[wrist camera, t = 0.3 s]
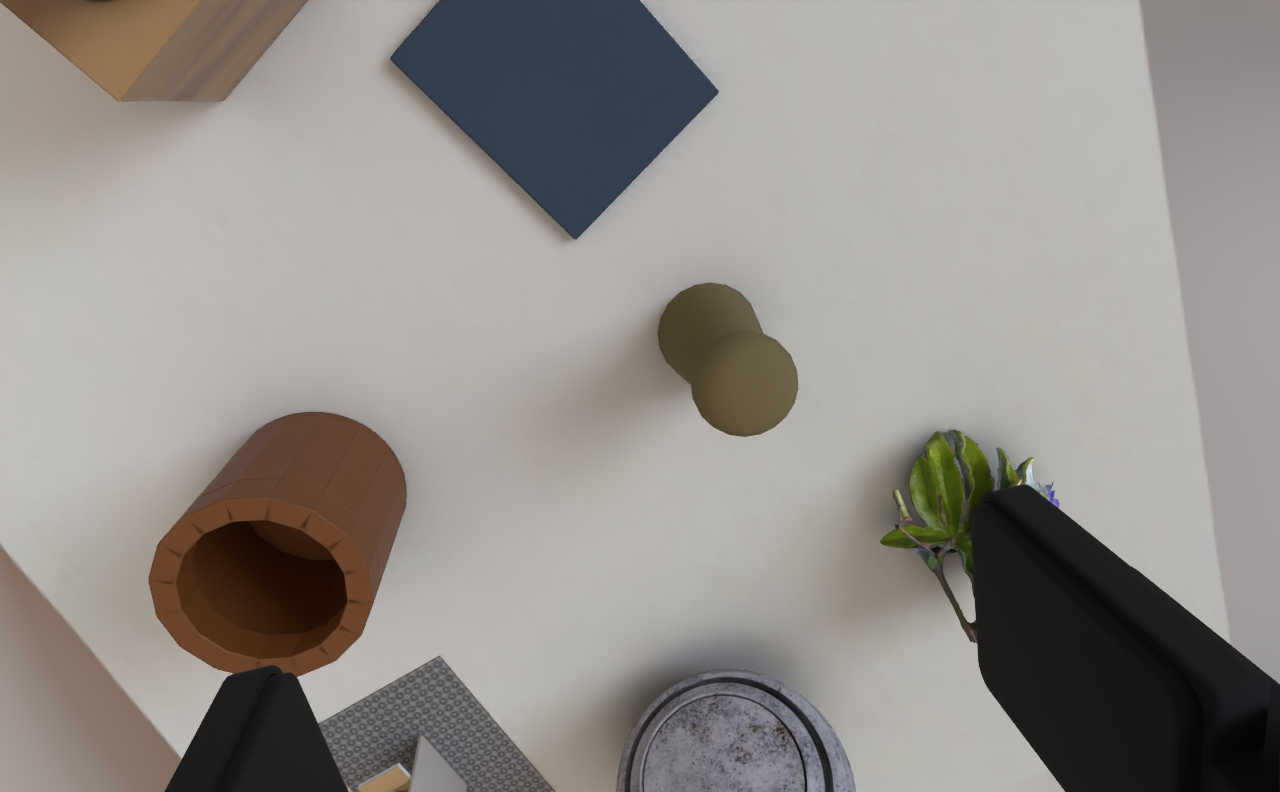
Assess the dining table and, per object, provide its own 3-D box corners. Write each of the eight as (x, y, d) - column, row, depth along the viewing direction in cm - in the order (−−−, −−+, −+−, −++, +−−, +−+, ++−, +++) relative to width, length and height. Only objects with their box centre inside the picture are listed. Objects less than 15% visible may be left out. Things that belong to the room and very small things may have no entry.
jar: (197, 494, 48) (104, 601, 38) (305, 377, 47) (239, 456, 36) (335, 589, 51) (284, 712, 41) (440, 484, 50) (414, 583, 39)
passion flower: (965, 472, 60) (1078, 616, 53) (837, 529, 58) (938, 686, 51) (1014, 382, 51) (1157, 543, 44) (863, 446, 49) (989, 625, 42)
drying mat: (391, 58, 41) (389, 58, 41) (539, -112, 40) (539, -115, 39) (575, 238, 46) (575, 240, 45) (717, 91, 44) (719, 91, 43)
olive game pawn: (673, 393, 49) (708, 471, 39) (645, 301, 47) (674, 357, 37) (768, 362, 49) (827, 432, 39) (744, 269, 47) (800, 316, 37)
